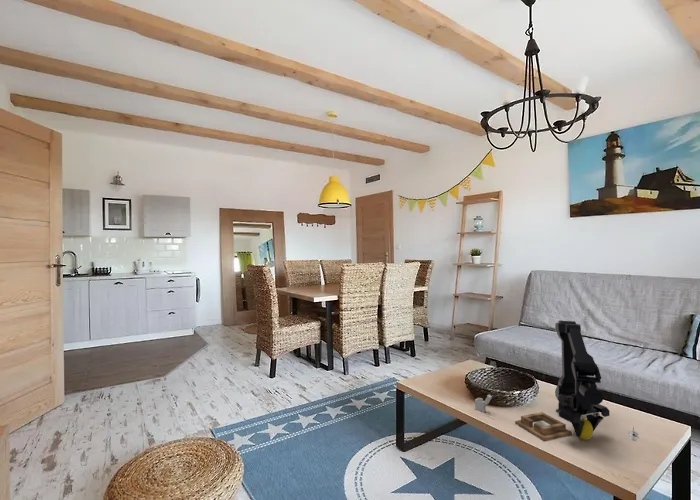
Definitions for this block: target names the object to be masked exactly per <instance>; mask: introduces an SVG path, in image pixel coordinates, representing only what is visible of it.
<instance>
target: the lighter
mask: <svg viewBox="0 0 700 500" xmlns="http://www.w3.org/2000/svg"><path fill="white" fill-rule="evenodd" d="M492 398H493V396H492V395H491V394H490V393H489V394H487V395H486V398H485V400H484V398H481V397H477V398H476V399H474V410H475V411H478V412H481V413H486V405H489V403H490V402H491V400H492Z"/></svg>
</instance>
